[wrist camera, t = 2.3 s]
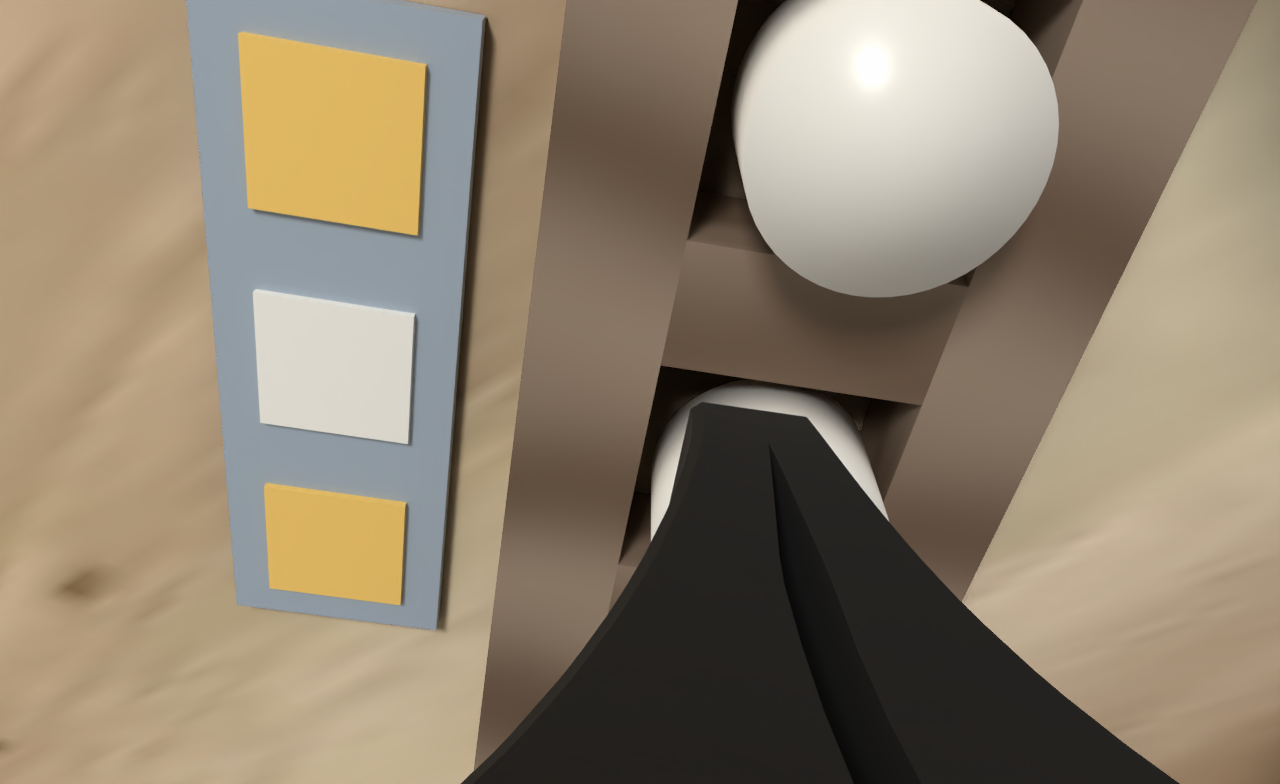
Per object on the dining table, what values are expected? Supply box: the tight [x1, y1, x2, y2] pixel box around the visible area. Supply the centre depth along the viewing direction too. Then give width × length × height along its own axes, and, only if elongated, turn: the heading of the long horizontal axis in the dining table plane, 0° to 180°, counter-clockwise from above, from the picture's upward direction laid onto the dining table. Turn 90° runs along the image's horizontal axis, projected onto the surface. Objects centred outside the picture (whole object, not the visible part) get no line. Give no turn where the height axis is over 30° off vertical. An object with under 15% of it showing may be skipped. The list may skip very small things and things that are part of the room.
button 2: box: [651, 379, 889, 541], centre depth 18 cm, size 4×4×2 cm
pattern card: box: [186, 0, 486, 630], centre depth 20 cm, size 15×5×1 cm, turn 170°
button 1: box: [731, 0, 1059, 297], centre depth 14 cm, size 4×4×2 cm
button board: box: [474, 0, 1257, 771], centre depth 20 cm, size 26×10×2 cm, turn 170°
